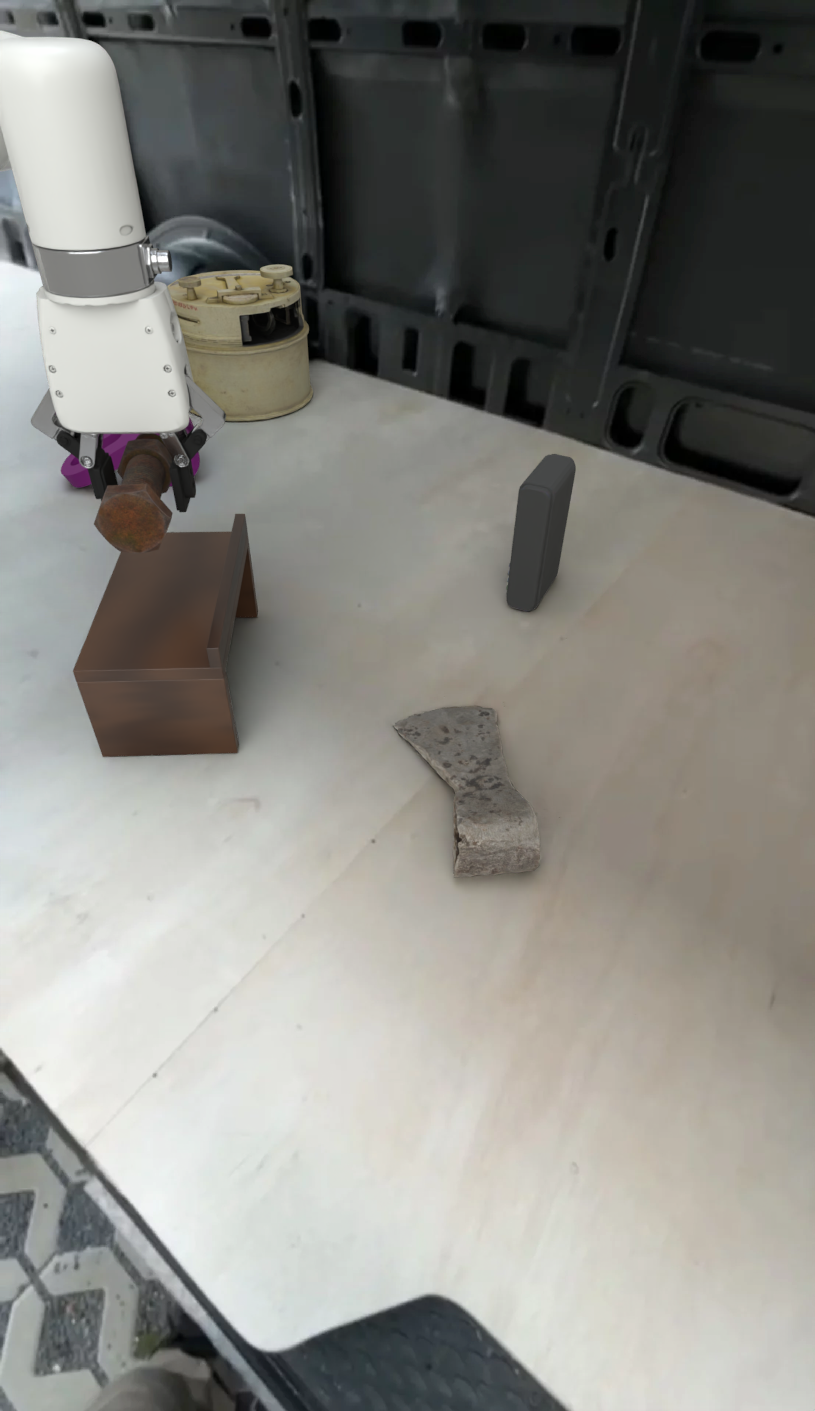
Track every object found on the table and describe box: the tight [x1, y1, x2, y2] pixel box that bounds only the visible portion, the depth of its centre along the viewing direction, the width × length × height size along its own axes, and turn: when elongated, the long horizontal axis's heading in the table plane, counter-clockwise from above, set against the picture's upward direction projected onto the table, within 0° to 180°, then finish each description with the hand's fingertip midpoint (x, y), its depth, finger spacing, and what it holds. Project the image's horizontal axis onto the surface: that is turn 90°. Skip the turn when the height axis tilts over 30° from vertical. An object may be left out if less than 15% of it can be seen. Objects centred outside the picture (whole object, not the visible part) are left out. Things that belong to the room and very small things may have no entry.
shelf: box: [72, 513, 259, 758], centre depth 75 cm, size 12×22×12 cm, turn 3°
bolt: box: [93, 434, 174, 553], centre depth 66 cm, size 6×5×15 cm
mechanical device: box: [167, 263, 314, 422], centre depth 125 cm, size 22×34×20 cm, turn 109°
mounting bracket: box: [60, 416, 201, 489], centre depth 110 cm, size 10×8×18 cm
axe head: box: [393, 705, 541, 878], centre depth 68 cm, size 21×5×10 cm
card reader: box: [505, 453, 577, 612], centre depth 86 cm, size 9×4×15 cm, turn 154°
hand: (148, 503), depth 67 cm, fingers closed on bolt, 5 cm apart
